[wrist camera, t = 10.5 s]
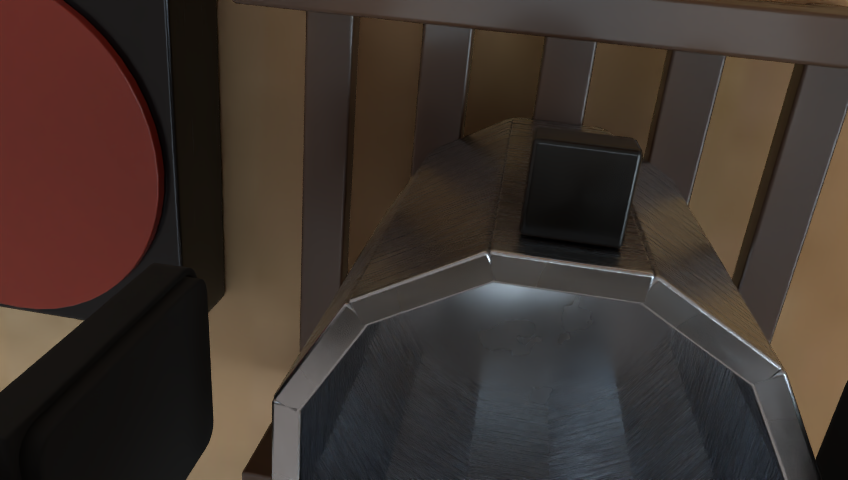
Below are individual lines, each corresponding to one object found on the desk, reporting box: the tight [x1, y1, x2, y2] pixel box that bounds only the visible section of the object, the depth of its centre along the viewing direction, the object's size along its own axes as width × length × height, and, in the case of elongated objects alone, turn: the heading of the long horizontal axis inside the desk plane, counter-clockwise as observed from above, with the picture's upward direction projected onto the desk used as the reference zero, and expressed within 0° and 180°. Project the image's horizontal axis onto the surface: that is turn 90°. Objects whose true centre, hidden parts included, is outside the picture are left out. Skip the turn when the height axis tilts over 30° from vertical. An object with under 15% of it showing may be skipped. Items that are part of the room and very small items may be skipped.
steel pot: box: [272, 117, 822, 480], centre depth 12 cm, size 7×9×7 cm
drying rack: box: [233, 0, 848, 480], centre depth 16 cm, size 12×12×5 cm
